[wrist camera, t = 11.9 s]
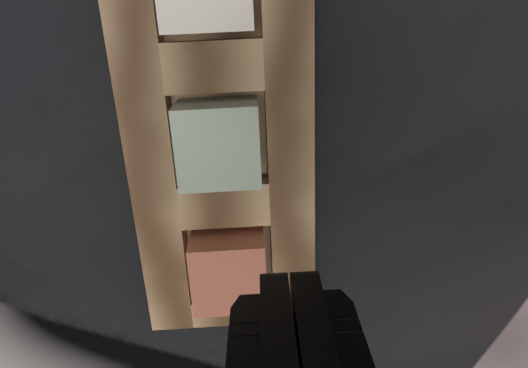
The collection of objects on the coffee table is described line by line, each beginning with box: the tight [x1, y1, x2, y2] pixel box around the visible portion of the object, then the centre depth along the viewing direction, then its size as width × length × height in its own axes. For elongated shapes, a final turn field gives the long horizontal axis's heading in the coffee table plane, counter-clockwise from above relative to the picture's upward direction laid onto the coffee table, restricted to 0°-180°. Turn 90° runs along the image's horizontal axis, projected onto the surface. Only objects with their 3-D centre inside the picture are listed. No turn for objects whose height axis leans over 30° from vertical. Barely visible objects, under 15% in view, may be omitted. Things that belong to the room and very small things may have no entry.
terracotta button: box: [186, 226, 266, 318], centre depth 30 cm, size 5×5×4 cm
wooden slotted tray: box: [98, 0, 315, 330], centre depth 29 cm, size 12×28×2 cm, turn 3°
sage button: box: [168, 95, 262, 194], centre depth 27 cm, size 5×5×4 cm
